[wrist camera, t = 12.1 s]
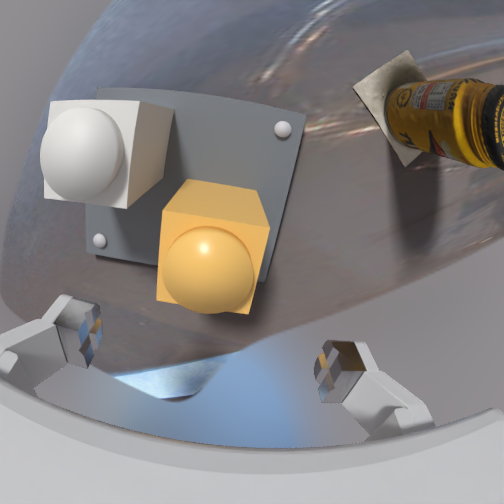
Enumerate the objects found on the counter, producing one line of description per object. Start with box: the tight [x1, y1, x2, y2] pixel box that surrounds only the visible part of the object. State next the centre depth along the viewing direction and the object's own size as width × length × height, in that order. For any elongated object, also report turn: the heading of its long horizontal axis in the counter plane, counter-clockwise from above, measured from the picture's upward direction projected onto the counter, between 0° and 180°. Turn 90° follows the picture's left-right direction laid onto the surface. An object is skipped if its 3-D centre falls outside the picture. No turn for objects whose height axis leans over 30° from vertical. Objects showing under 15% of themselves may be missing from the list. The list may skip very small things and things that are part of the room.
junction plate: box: [40, 88, 307, 282], centre depth 17 cm, size 16×14×10 cm
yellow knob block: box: [157, 179, 270, 314], centre depth 18 cm, size 5×5×9 cm
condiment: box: [353, 50, 504, 170], centre depth 14 cm, size 7×8×12 cm
